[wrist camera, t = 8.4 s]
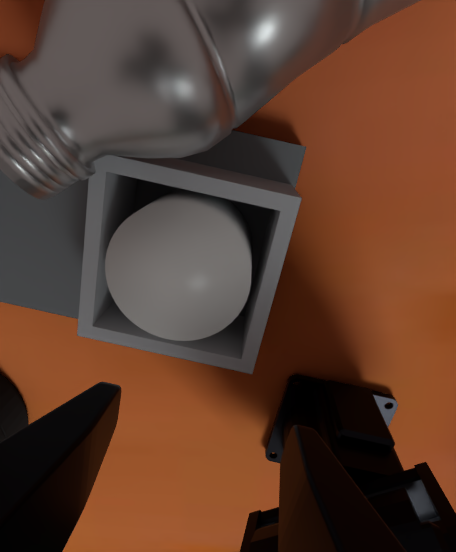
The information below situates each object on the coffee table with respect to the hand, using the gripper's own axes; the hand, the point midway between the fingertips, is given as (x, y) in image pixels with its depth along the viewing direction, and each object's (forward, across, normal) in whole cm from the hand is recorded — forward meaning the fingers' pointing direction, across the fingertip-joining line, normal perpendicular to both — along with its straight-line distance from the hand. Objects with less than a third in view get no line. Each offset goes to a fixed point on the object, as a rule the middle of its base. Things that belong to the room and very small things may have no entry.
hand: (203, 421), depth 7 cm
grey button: (+11, +2, 0) cm, 11 cm away
